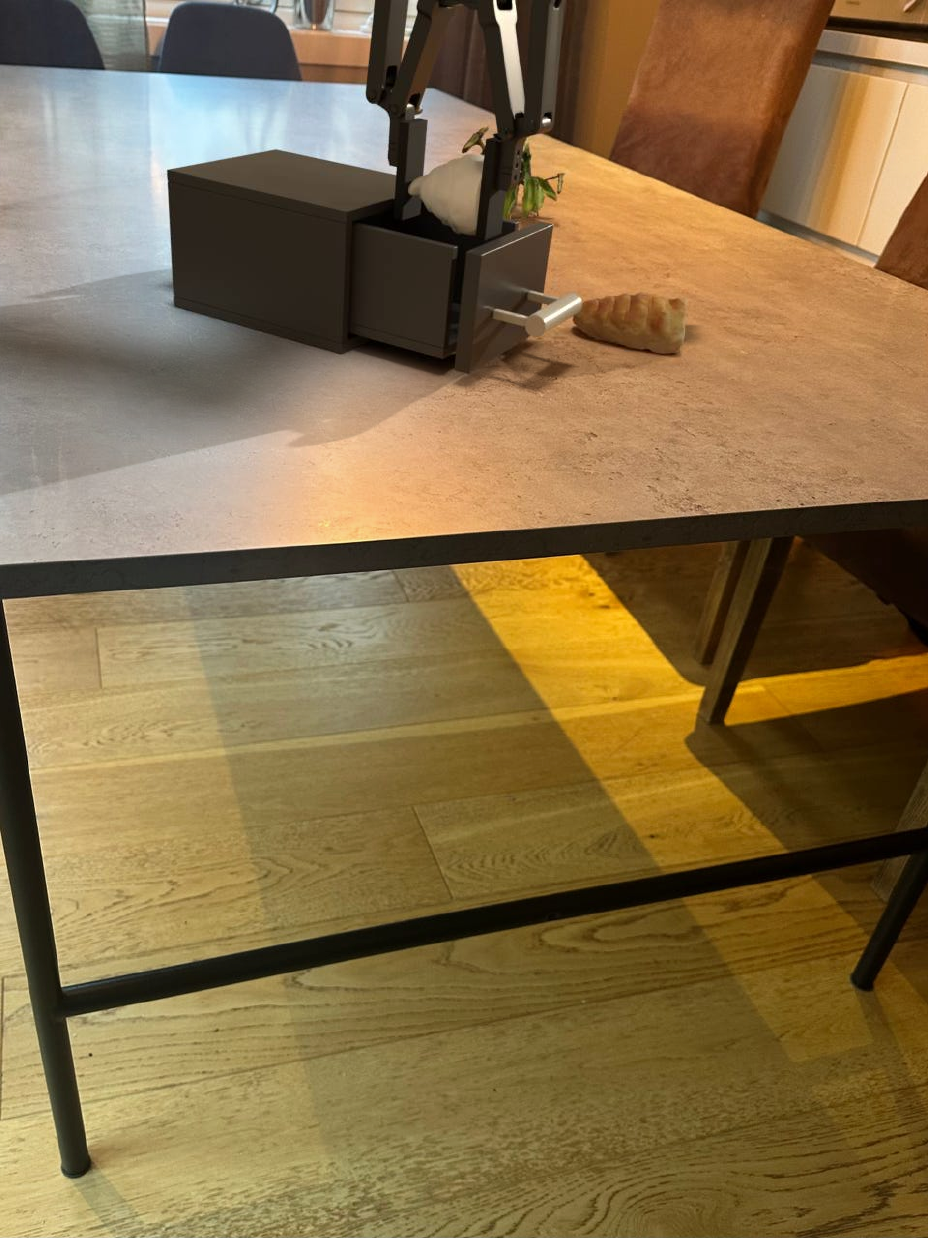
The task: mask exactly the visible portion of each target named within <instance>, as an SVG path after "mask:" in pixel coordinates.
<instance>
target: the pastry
mask: <svg viewBox="0 0 928 1238" xmlns="http://www.w3.org/2000/svg"><path fill="white" fill-rule="evenodd" d="M687 308H688V300H687V299H686V298H682V297H680V296H679V297H676V298H669V297H665V296H661V295H659V294H655V293H648V292H638V293H635V294H630V293H622V294H619V295H606V296H604V297H603V298H593V299H588V300H585V301H583V302H582V308H581V310H580V311H579V312H578V313H577V314H576V315H574V316H572V323H573V324H574V325H575V327H577V329H579V331H581V332H582V333H584V334H586V336H587V337H588V338H590V337H591V338H594V340H596V341H604V342H605V341H606V342H608V343H610V344H612V345H614V344H617V345H621V346H624V347H626V348H631V349H634V350H635V349H636V350H641V351H642V350H650V351H651V352H652V353H656V354H665V355H666V354H678V353H679V351H680V350H681V349H682V346H683V344H684V341H685V340H684V339H685V334H686V312H687Z"/></svg>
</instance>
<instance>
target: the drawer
mask: <svg viewBox="0 0 928 1238" xmlns="http://www.w3.org/2000/svg"><path fill="white" fill-rule="evenodd" d="M393 215H394V209H392V210H388V211H385V212H382V213H379V214H375V215H372V216H369V217H366V218H362V219H359V220H356V221H353V222H352V237H351V262H350V287H349V312H348V333H352V334H355V335H359V336H362V337H366V338H370V339H371V340H373V341H378V342H380V343H385V344H386V345H387V344H388V345H391V346H395V347H398V348H403V349H406V350H410V351H413V352H416V353H420V354H424V355H427V356H431V357H435V358H438V359H441V360H443V359H445V358H447V357H448V356H450V355H452V354H454V353H455V358H454V371H456V372H459V373H463V374H467V375H470V374H472V373H473V372H474V371H476V370H478V369H479V368H481V367H483V366H484V365H486V364H487V363H490V362H491V361H492V360H494V359H496V358H498V357H499V356H500V355H502V354H504V353H506V352H507V351H509V350H511V349H512V348H514V347H516V346H517V345H519V344H520V343H522V342H523V341H525V340H527V339H528V338H530V337H532V338H540V337H542V336H543V335H545V334H547V333H548V332H550V331H552V330H553V329H555V328H557V327H558V326H560V325H562V324H563V323H564V322H566V321H567V320H569V319H571V318H573V316H574V315H576V314H577V313H578V312H579V311H580V310H581V308H582V303H583V302H582V299H581V297H580V296H579V294H577V293H574V292H569V293H566V294H565V295H563V296H561V297H560V296H556V295H551V294H546V293H545V288H546V287H545V286H546V280H547V279H546V278H547V274H548V273H547V272H548V265H549V259H550V251H551V244H552V236H553V231H554V224H553V223H551V222H550V223H549V222H546V221H541V220H540V221H537V222H535V223H532V224H529V225H527V226H524V227H522V228H520V221H519V220H514V219H511V220H510V219H505V218H503V222H502V230H501V234H499V235H497V236H494V237H492V238H489V239H487V240H481V239H477V238H475V237H476V236H472V235H466V234H463V233H461V234H457V233H455V232H454V231H453V229H452V227H450V226H447V225H444V224H443V223H442V221H441V220H440V219H439V218H437V217H436V216H435V215H434V213H432V212H429V211H428V209H427V208H426V206H425V204H424V202H423V201H422V200H421V210H420V215H418V216H415V217H412V218H409V219H405V220H398V219H394V218H393ZM519 228H520V229H519ZM543 305H545V306H544V307H543Z"/></svg>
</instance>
